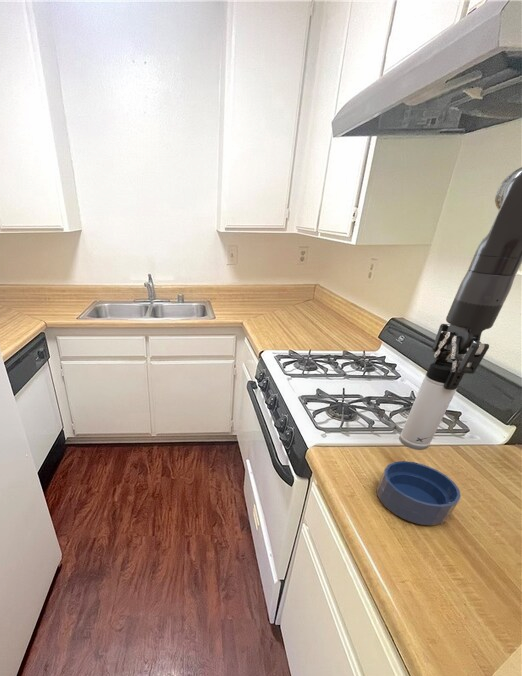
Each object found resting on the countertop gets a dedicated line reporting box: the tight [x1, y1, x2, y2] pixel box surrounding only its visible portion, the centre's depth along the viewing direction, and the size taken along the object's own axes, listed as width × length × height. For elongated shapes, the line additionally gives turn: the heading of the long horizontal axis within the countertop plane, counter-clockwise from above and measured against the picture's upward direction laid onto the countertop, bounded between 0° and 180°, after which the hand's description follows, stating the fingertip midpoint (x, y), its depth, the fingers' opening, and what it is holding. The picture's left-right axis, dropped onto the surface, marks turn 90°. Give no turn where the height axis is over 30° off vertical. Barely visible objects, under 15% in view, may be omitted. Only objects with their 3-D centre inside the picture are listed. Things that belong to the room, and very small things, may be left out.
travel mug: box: [398, 361, 461, 451], centre depth 76 cm, size 6×7×20 cm
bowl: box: [376, 460, 462, 526], centre depth 75 cm, size 14×14×6 cm
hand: (441, 381), depth 73 cm, fingers closed on travel mug, 6 cm apart
